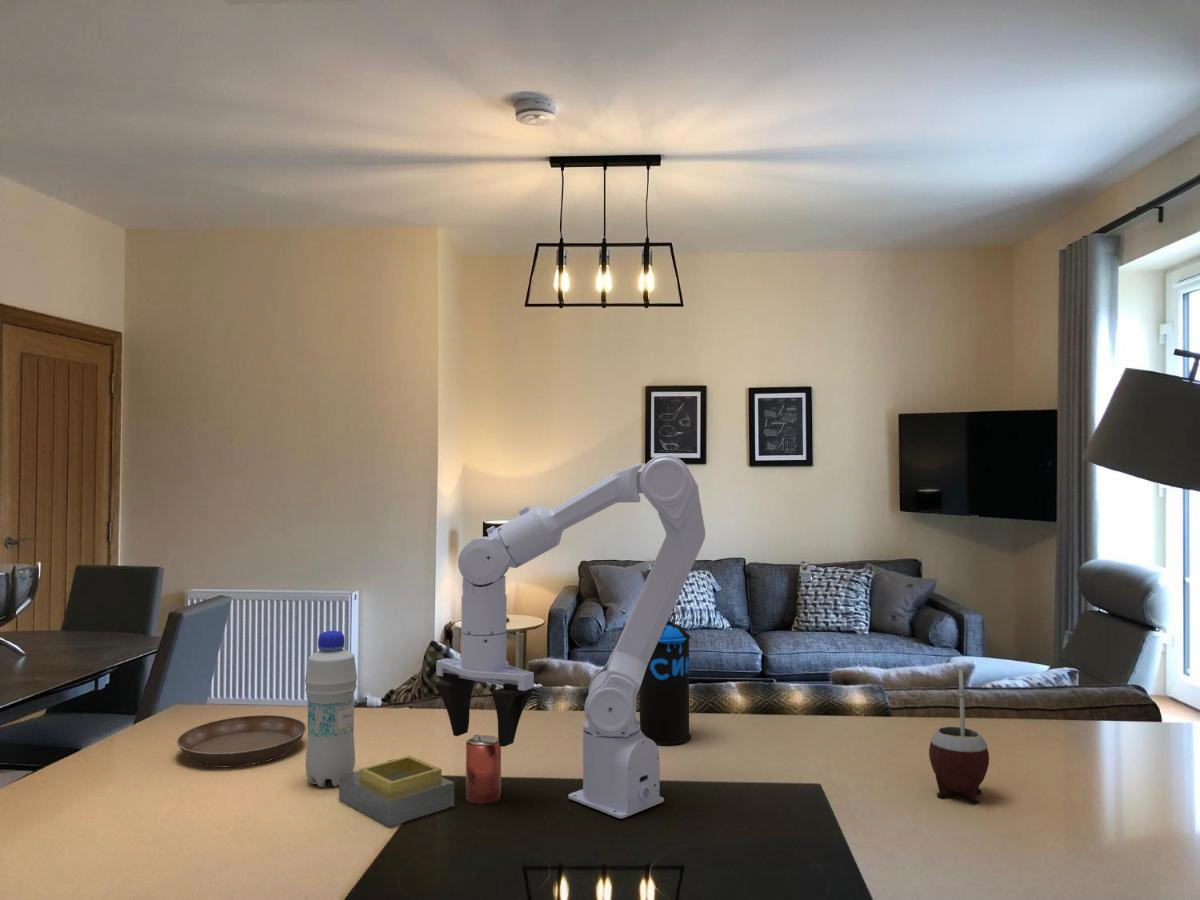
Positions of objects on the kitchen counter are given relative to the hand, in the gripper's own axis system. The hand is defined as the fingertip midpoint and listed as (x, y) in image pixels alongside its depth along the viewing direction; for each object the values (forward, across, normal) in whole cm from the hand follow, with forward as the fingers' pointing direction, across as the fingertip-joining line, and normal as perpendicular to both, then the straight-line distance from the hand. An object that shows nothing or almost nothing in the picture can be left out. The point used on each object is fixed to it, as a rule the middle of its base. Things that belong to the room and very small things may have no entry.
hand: (483, 739), depth 110 cm
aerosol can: (+7, -8, -34) cm, 36 cm away
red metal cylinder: (+7, 0, 0) cm, 7 cm away
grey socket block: (+7, +8, +7) cm, 13 cm away
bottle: (+8, +21, +7) cm, 23 cm away
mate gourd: (+7, -51, -34) cm, 61 cm away
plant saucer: (+8, +42, +5) cm, 43 cm away
